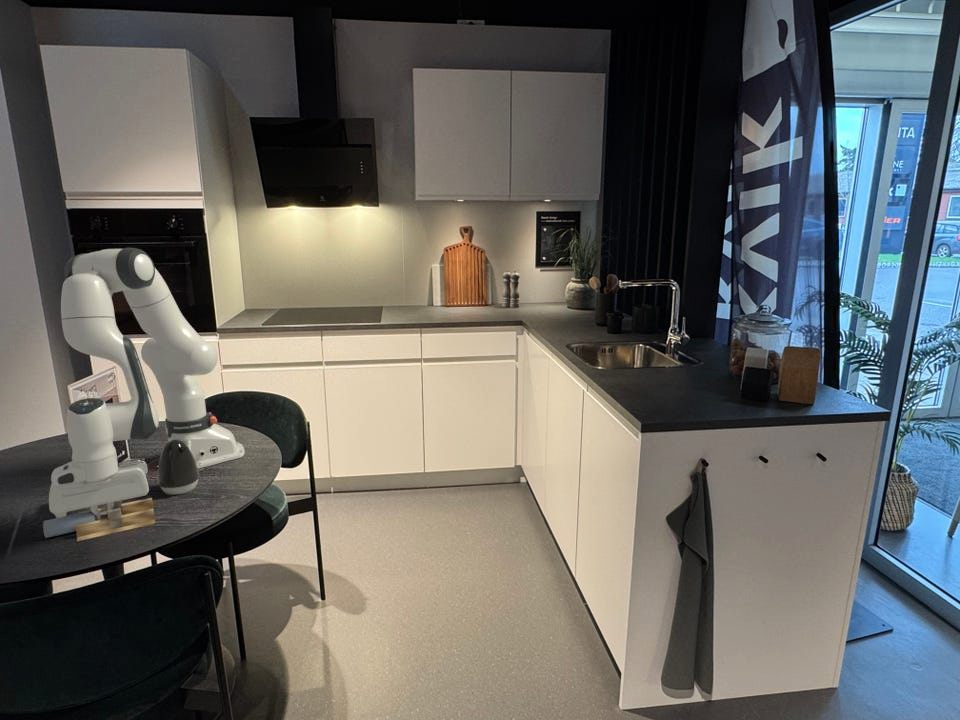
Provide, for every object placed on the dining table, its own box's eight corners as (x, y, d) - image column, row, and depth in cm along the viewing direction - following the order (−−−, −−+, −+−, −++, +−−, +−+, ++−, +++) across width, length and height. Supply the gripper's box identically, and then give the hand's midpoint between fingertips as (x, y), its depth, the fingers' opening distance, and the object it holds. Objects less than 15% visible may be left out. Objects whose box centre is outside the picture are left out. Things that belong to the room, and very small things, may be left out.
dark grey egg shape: (174, 503, 155) (166, 450, 152) (152, 494, 161) (144, 442, 157) (209, 489, 164) (203, 438, 160) (187, 480, 169) (180, 430, 166)
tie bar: (70, 503, 155) (67, 486, 154) (68, 520, 147) (64, 502, 146) (59, 505, 154) (56, 488, 153) (56, 522, 146) (52, 504, 144)
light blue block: (97, 521, 144) (94, 507, 143) (96, 529, 141) (93, 514, 140) (47, 533, 139) (44, 517, 138) (45, 541, 136) (42, 525, 135)
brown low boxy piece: (153, 506, 154) (150, 487, 152) (155, 526, 144) (152, 506, 142) (40, 531, 142) (36, 510, 140) (34, 554, 132) (30, 532, 130)
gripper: (145, 453, 147) (152, 503, 151) (45, 471, 137) (55, 525, 140) (146, 462, 142) (154, 514, 145) (43, 481, 132) (53, 536, 135)
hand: (104, 519), depth 143 cm, fingers closed
